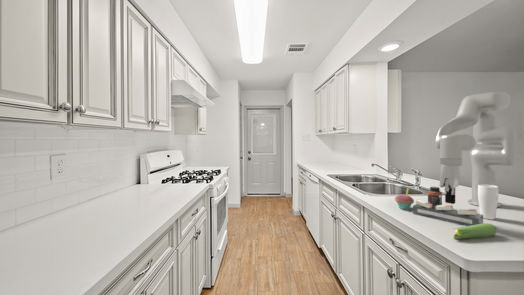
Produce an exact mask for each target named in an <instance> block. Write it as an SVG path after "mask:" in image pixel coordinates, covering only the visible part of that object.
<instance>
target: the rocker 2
mask: <svg viewBox="0 0 524 295" xmlns="http://www.w3.org/2000/svg"><path fill="white" fill-rule="evenodd" d="M453 205H454V204H451V205H450V204H447V205H444V204H442V205H437V206H435V208H436V210H452V209H454V206H453Z"/></svg>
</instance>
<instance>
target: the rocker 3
mask: <svg viewBox="0 0 524 295" xmlns="http://www.w3.org/2000/svg"><path fill="white" fill-rule="evenodd" d="M457 210H458V211H457V212H458V214H466V215H476V214H478V210H477V209H473V208H472V209H470V208H469V209H457Z"/></svg>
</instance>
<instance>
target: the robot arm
mask: <svg viewBox="0 0 524 295" xmlns="http://www.w3.org/2000/svg"><path fill="white" fill-rule="evenodd" d="M511 101H512V100H511V96H510V94H509V93H508V92H506V91H492V92H491V91H490V92H484V93H475V94H471V95H467V96H465V97H464V98H463V99H462V100H461V102H460V105H459V108H458V110H457V113H456V116H455V117H454V118H452V119H450V120H449V121H447V122H446V123H445V124H443V125H442V126H440V128H439V129H438V131H437V133H436V137H435V140H434V145H435V148H436V149H438V150H439V166H441V167H440V173H439V188H444V202H445V203H446V204H451V205H454V204H456V190H457V189H456V188H458V187H460V177H461V176H460V167H462V166H463V151H464V152H465V151H470V152H469V159H470V163H471V199H468V200H467V203H468V204H470V205H474V206H478V207H479V201H478V185H481V184H483V185H494V186H497V172H496V171H495V169H494V168H493V167H492V166H501V167H502V166H503V167H511V166H512V167H513V166H514V165H515V164H516V163H517V159H518V154H517V153H518V150H517V148H518V146H517V145H518V140H517V139H518V138H517V136H518V135H517V131H516V129H515V128H514V127H512V126H507V125H506V126H505V125H503V126H497V125H496V117H495V115H494V114H493V113H492V112H491V111H497V110H498V111H499V110H501V111H502V110H506V109H507V108H508V107H509V106H510V104H511ZM470 127H472V128H473V129H472V130H473V132H472V133H473V134H472V135H471V134H466V133H465V134H463V133H460V134H457V132H460V131H462V130H466V129H469V128H470ZM455 132H456V133H455ZM454 133H455V134H454ZM476 144H477V145H487V146H480V147H479V146H478V147H475V146H476ZM488 145H490V146H488ZM491 145H493V146H495V145H499V146H502V147H493V146H491ZM500 207H501V204H500V203H499V202H498V203H497V208H500Z"/></svg>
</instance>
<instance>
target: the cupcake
mask: <svg viewBox="0 0 524 295" xmlns="http://www.w3.org/2000/svg"><path fill="white" fill-rule="evenodd" d="M409 190H410V187H409V186H408V187H407V188H406V193H405V194H401V195H400V194H399V195H397V196H395V198H394V201H395V202H396V203H397V205H398V208H399V210H404V211H405V210H410V208H411V206H412V204H414V202H415V201H414V198H412V197H411V196H409Z"/></svg>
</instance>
